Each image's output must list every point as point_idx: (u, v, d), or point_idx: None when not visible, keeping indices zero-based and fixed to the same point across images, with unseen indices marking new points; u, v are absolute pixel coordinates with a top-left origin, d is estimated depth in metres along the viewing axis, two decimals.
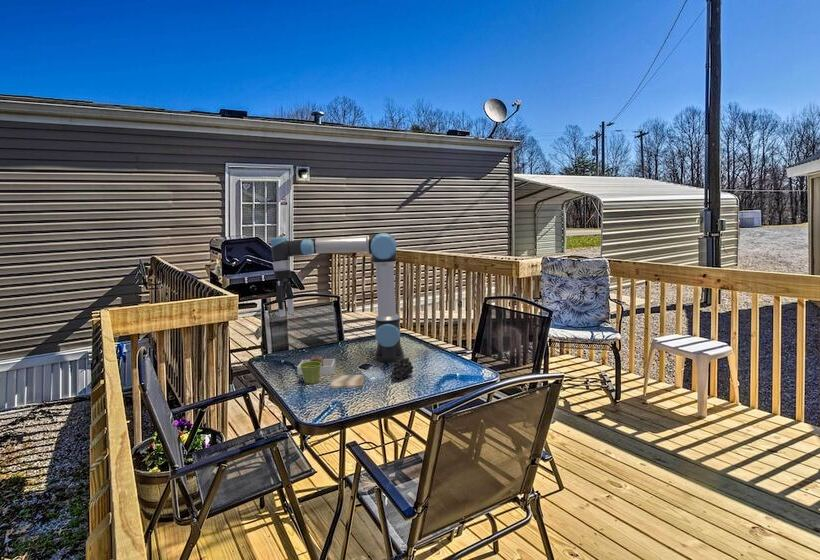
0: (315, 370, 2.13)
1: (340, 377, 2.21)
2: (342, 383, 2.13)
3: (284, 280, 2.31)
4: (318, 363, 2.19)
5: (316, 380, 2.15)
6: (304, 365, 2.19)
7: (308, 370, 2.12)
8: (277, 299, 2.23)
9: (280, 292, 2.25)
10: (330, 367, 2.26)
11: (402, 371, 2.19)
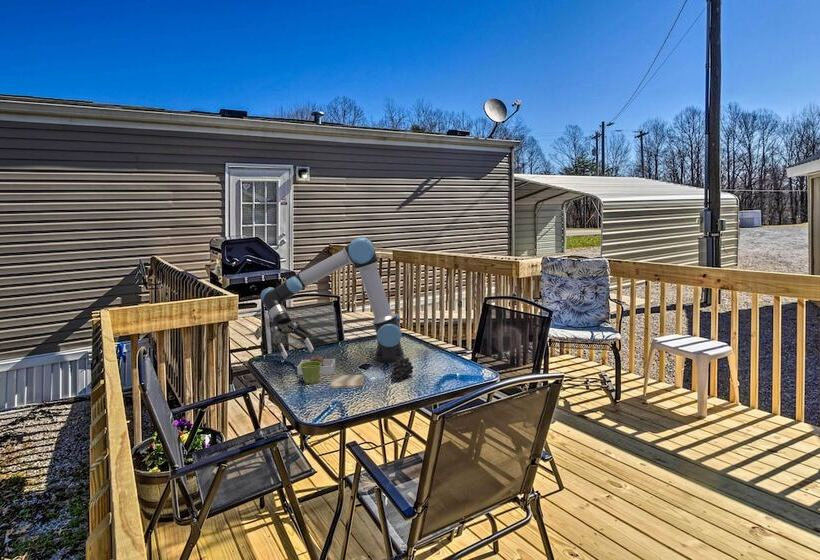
0: (315, 370, 2.13)
1: (340, 377, 2.21)
2: (342, 383, 2.13)
3: (282, 324, 2.25)
4: (318, 363, 2.19)
5: (316, 380, 2.15)
6: (304, 365, 2.19)
7: (308, 370, 2.12)
8: (271, 343, 2.17)
9: (273, 336, 2.18)
10: (330, 367, 2.26)
11: (402, 371, 2.19)
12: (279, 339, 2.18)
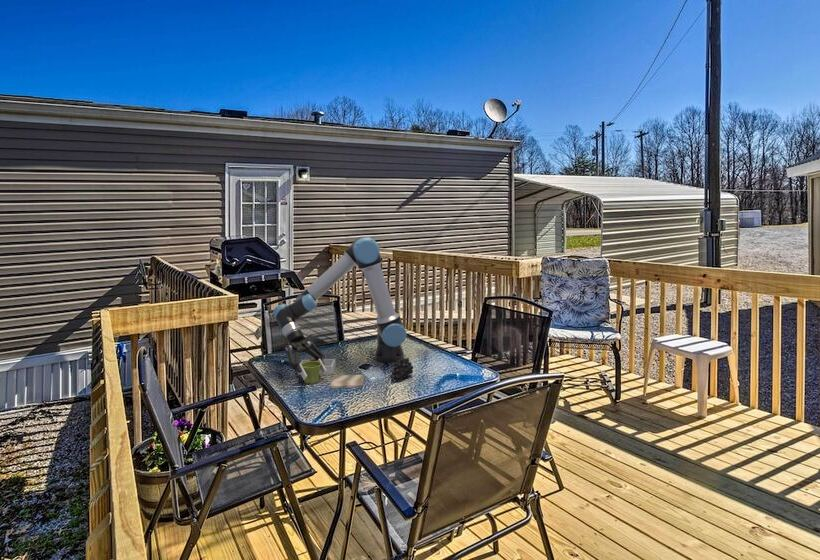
0: (315, 370, 2.13)
1: (340, 377, 2.21)
2: (342, 383, 2.13)
3: (295, 341, 2.20)
4: (318, 363, 2.19)
5: (316, 380, 2.15)
6: (304, 365, 2.19)
7: (308, 370, 2.12)
8: (290, 364, 2.12)
9: (290, 356, 2.13)
10: (330, 367, 2.26)
11: (402, 371, 2.18)
12: (297, 359, 2.14)
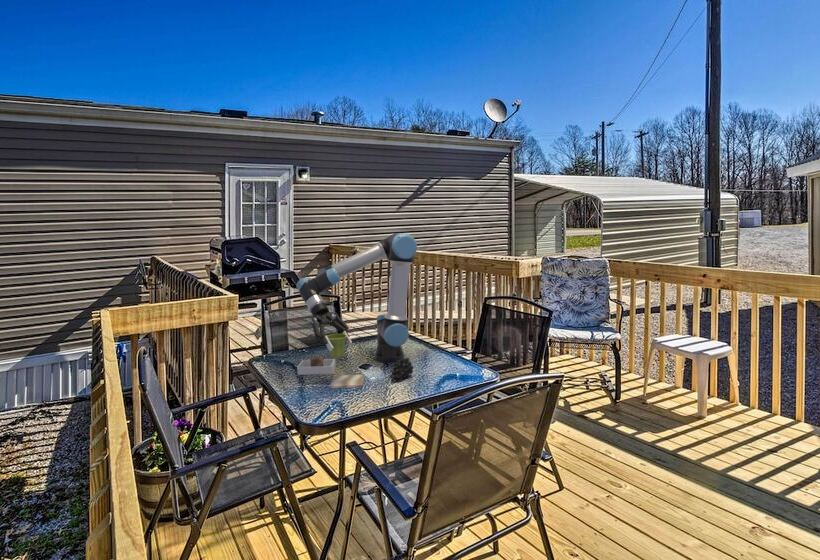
0: (341, 341, 2.11)
1: (340, 377, 2.21)
2: (342, 383, 2.13)
3: (320, 314, 2.18)
4: (343, 335, 2.17)
5: (342, 352, 2.13)
6: (329, 337, 2.17)
7: (334, 342, 2.10)
8: (316, 336, 2.10)
9: (315, 328, 2.12)
10: (330, 367, 2.26)
11: (402, 371, 2.18)
12: (322, 331, 2.12)
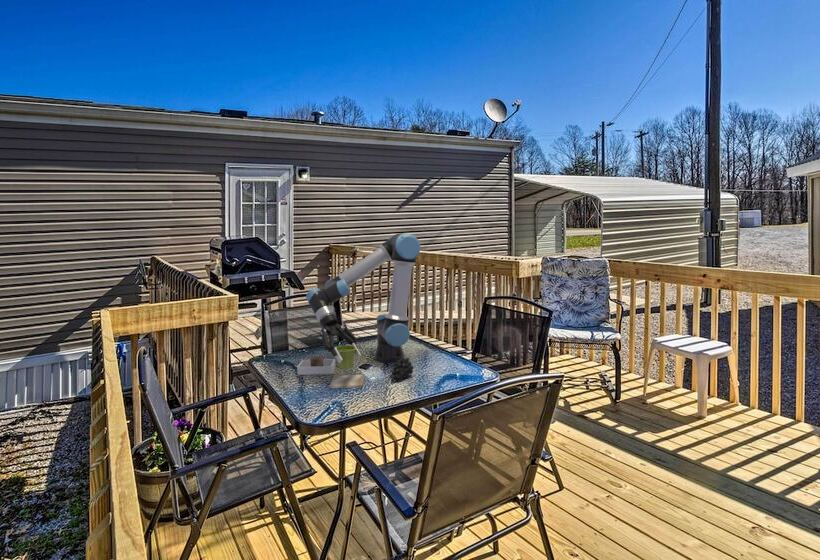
0: (350, 354, 2.12)
1: (340, 377, 2.21)
2: (342, 383, 2.13)
3: (329, 325, 2.19)
4: (352, 347, 2.18)
5: (350, 364, 2.14)
6: (338, 349, 2.17)
7: (343, 353, 2.11)
8: (325, 347, 2.11)
9: (325, 339, 2.12)
10: (330, 367, 2.26)
11: (402, 371, 2.18)
12: (332, 342, 2.13)
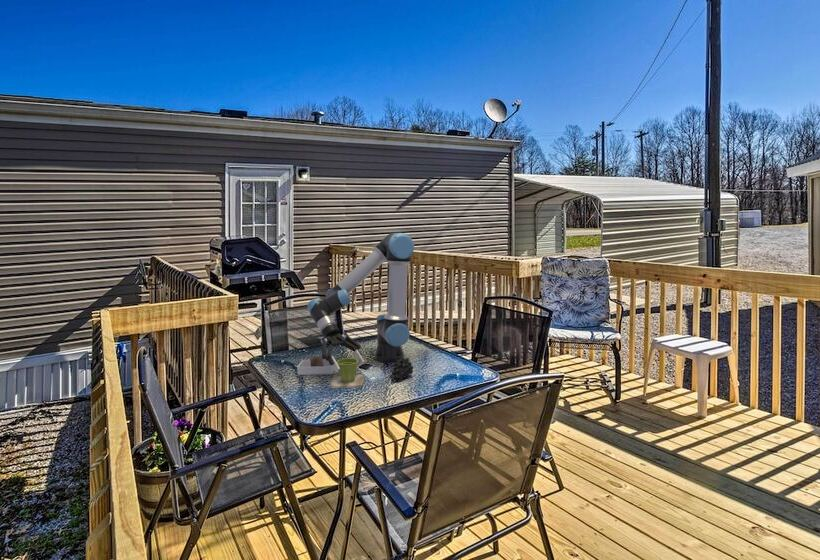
0: (352, 367, 2.13)
1: (340, 377, 2.21)
2: (342, 383, 2.13)
3: (331, 336, 2.19)
4: (354, 360, 2.19)
5: (353, 377, 2.15)
6: (340, 362, 2.18)
7: (345, 367, 2.12)
8: (322, 356, 2.11)
9: (323, 348, 2.13)
10: (330, 367, 2.26)
11: (402, 371, 2.18)
12: (330, 352, 2.13)
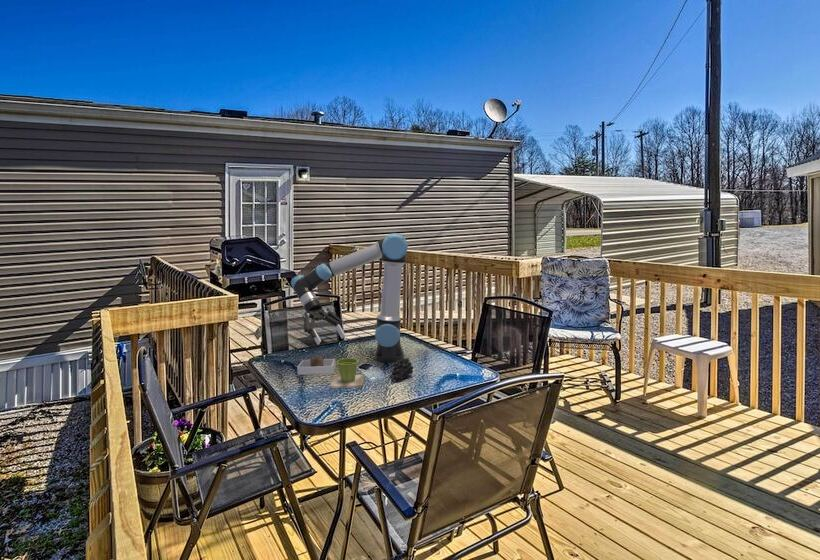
0: (352, 367, 2.13)
1: (340, 377, 2.21)
2: (342, 383, 2.13)
3: (314, 311, 2.27)
4: (354, 360, 2.19)
5: (353, 377, 2.15)
6: (340, 362, 2.18)
7: (345, 367, 2.12)
8: (304, 329, 2.19)
9: (305, 322, 2.20)
10: (330, 367, 2.26)
11: (402, 371, 2.18)
12: (312, 325, 2.20)
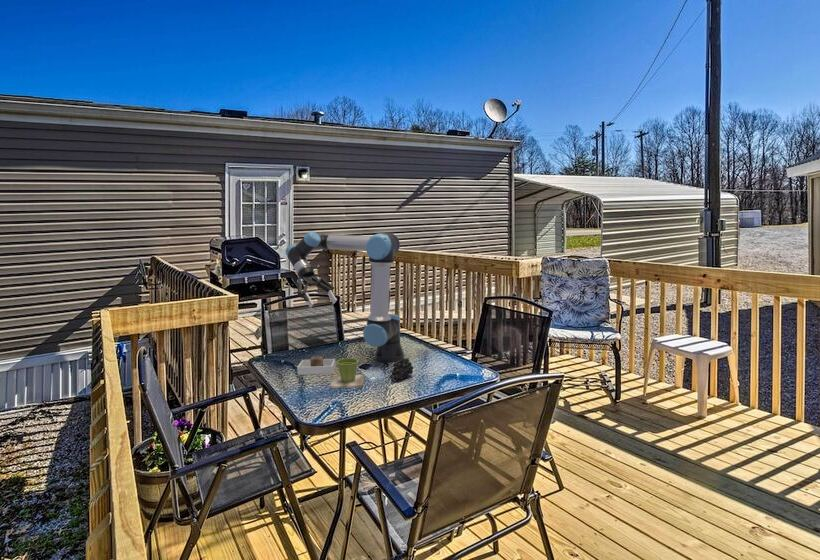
0: (352, 367, 2.13)
1: (340, 377, 2.21)
2: (342, 383, 2.13)
3: (307, 277, 2.40)
4: (354, 360, 2.19)
5: (353, 377, 2.15)
6: (340, 362, 2.18)
7: (345, 367, 2.12)
8: (298, 293, 2.31)
9: (299, 287, 2.33)
10: (330, 367, 2.26)
11: (402, 371, 2.18)
12: (305, 290, 2.33)
